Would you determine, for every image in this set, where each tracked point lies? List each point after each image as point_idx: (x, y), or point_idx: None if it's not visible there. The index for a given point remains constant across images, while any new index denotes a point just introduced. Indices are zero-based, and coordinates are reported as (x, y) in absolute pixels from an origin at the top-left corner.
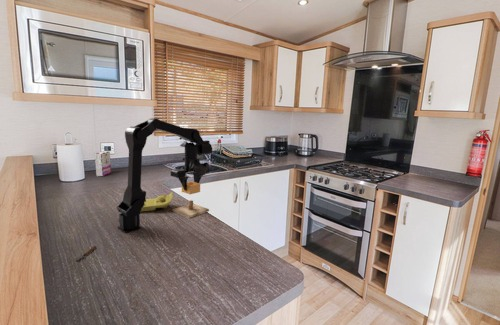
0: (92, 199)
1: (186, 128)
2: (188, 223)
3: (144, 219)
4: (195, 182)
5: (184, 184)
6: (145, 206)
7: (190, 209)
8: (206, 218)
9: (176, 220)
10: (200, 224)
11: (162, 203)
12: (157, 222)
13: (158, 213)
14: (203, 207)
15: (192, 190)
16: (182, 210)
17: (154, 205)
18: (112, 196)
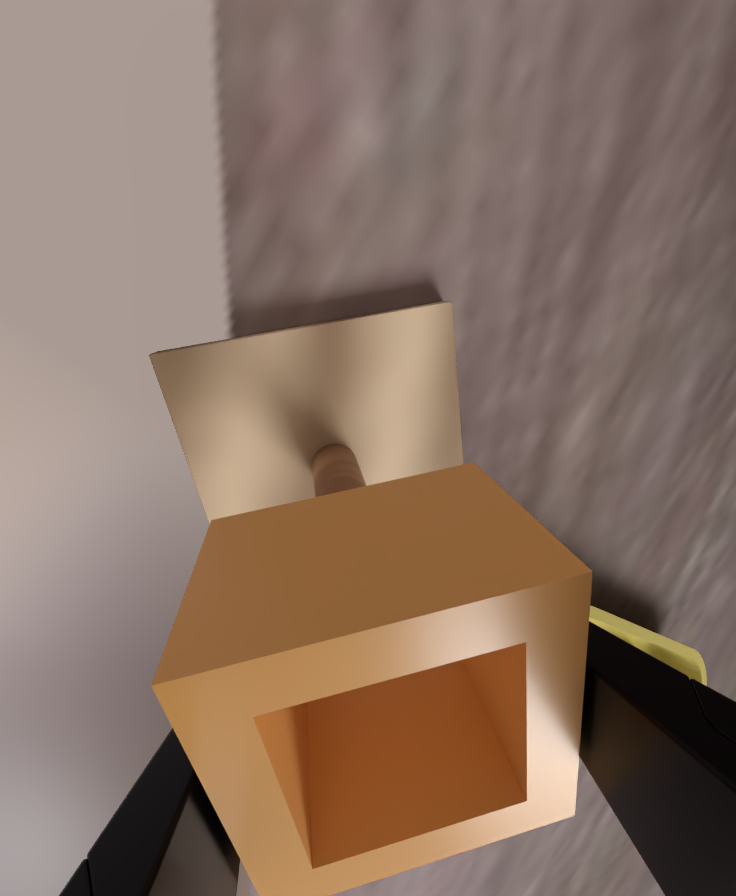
0: None
1: None
2: (529, 164)
3: (691, 480)
4: (237, 821)
5: (677, 691)
6: (644, 630)
7: (349, 450)
8: (299, 154)
9: (558, 318)
10: (455, 27)
11: None
12: (677, 373)
13: (562, 540)
14: (186, 440)
15: (440, 507)
16: (419, 473)
17: (603, 614)
18: (576, 870)
